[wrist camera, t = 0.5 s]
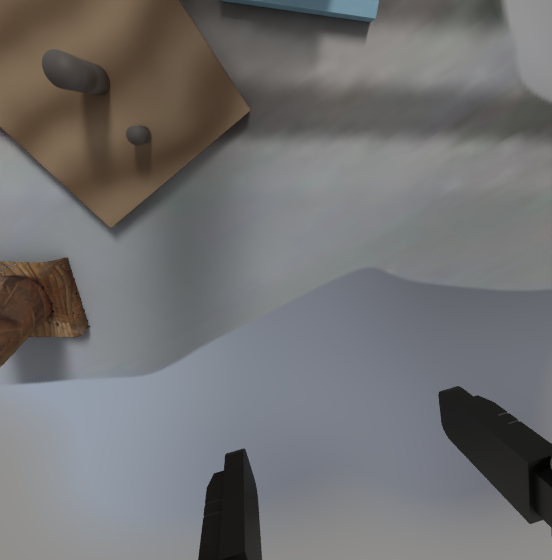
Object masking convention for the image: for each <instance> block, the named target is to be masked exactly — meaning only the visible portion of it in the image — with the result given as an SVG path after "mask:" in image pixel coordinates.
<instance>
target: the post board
mask: <svg viewBox="0 0 552 560" xmlns="http://www.w3.org/2000/svg"><path fill="white" fill-rule="evenodd" d="M249 111H250V108H249V107H248V105H247V104H246V102H245V101H244V99H243V98H242V96H241V95H240V93H239V92H238V90H237V89H236V87H235V85H234V84H233V82H232V81H231V79H230V78H229V76H228V75H227V73H226V72H225V70H224V69H223V67H222V65H221V64H220V62H219V61H218V59H217V58H216V56H215V55H214V53H213V52H212V50H211V49H210V47H209V45H208V44H207V42H206V41H205V39H204V38H203V36H202V35H201V33H200V32H199V30H198V29H197V27H196V26H195V24H194V22H193V21H192V19H191V18H190V16H189V15H188V13H187V12H186V10H185V9H184V7H183V6H182V4H181V2H180V1H179V0H0V127H1V128H2V129H3V130H4V131H5V132H7V133H8V134H9V135H10V136H11V137H12V138H13V139H14V140H15V141H16V142H17V143H19V144H20V145H21V146H22V147H23V148H24V149H25V150H26V151H27V152H28V153H29V154H31V155H32V156H33V157H34V158H35V159H36V160H37V161H38V162H39V163H40V164H41V165H42V166H44V167H45V168H46V169H47V170H48V171H49V172H50V173H51V174H52V175H53V176H54V177H56V178H57V179H58V180H59V181H60V182H61V183H62V184H63V185H64V186H65V187H66V188H68V189H69V190H70V191H71V192H72V193H73V194H74V195H75V196H76V197H77V198H78V199H80V200H81V201H82V202H83V203H84V204H85V205H86V206H87V207H88V208H89V209H90V210H91V211H93V212H94V213H95V214H96V215H97V216H98V217H99V218H100V219H101V220H102V221H103V222H105V223H106V224H107V225H108V226H109V227H110V228H112V227H113V226H114V225H115V224H116V223H118V222H119V221H120V220H121V219H122V218H124V217H125V216H126V215H127V214H128V213H129V212H131V211H132V210H133V209H134V208H135V207H137V206H138V205H139V204H140V203H141V202H142V201H144V200H145V199H146V198H147V197H148V196H150V195H151V194H152V193H153V192H154V191H156V190H157V189H158V188H159V187H160V186H161V185H163V184H164V183H165V182H166V181H167V180H169V179H170V178H171V177H172V176H173V175H174V174H176V173H177V172H178V171H179V170H180V169H182V168H183V167H184V166H185V165H186V164H188V163H189V162H190V161H191V160H192V159H193V158H195V157H196V156H197V155H198V154H199V153H201V152H202V151H203V150H204V149H205V148H206V147H208V146H209V145H210V144H211V143H212V142H214V141H215V140H216V139H217V138H218V137H220V136H221V135H222V134H223V133H224V132H225V131H227V130H228V129H229V128H230V127H231V126H233V125H234V124H235V123H236V122H237V121H239V120H240V119H241V118H242V117H243V116H244V115H246V114H247V113H248V112H249Z"/></svg>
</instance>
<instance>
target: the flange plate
mask: <svg viewBox="0 0 552 560" xmlns="http://www.w3.org/2000/svg"><path fill="white" fill-rule="evenodd" d="M222 1H225V2H232V3H239V4H246V5H253V6H260V7H267V8H274V9H281V10H288V11H295V12H302V13H309V14H316V15H323V16H330V17H337V18H344V19H351V20H358V21H365V22H372V21H373V20H374V19H376V14H377V8H378V3H379V0H222Z"/></svg>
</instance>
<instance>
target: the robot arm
mask: <svg viewBox="0 0 552 560" xmlns="http://www.w3.org/2000/svg"><path fill="white" fill-rule="evenodd" d="M439 405H440V413H441V422H442V426H443V429H444V431H445V433H446V435H447V436H448V438H449V439H450V440H451V441H452V442H453V444H454V445H455V446H456V447H457V448H458V449H459V450H460V451H461V452H462V453H463V454H464V455H465V456H466V457H467V458H468V459H469V460H470V461H471V463H472V464H473V465H474V466H475V467H476V468H477V469H478V470H479V471H480V472H481V473H482V474H483V475H484V476H485V477H486V478H487V479H488V480H489V482H490V483H491V484H492V485H493V486H494V487H495V488H496V489H497V490H498V491H499V492H500V493H501V494H502V495H503V496H504V497H505V498H506V499H507V500H508V501H509V503H510V504H511V505H512V506H513V507H514V508H515V509H516V510H517V511H518V512H519V513H520V514H521V515H522V516H523V517H524V518H525V519H526V520H527V522H528V523H529V524H532V523H534V522H538V521H541V520H544V521H545V522H546V523H547V524H548V525H549V526H550V527H551V535H552V444H551V443H549V442H548V441H547V440H545V439H544V438H543V437H541V436H540V435H538V434H537V433H536V432H534V431H533V430H532V429H530V428H529V427H527V426H526V425H525V424H523V423H522V422H519V421H518V419H516V418H515V417H514V416H512V415H511V414H508V413H507V411H505V410H504V409H503V408H501V407H500V406H498V405H497V404H496V403H494V402H492V401H490V400H487V399H485V398H483V397H480V396H474V397H473V396H472V395H470V394H469V393H468V392H467V391H465V390H464V389H463V388H461V387H459V386H457V387H453V388H450V389H447V390H443V391H440V392H439ZM259 523H260V522H259V507H258V494H257V488H256V483H255V479H254V476H253V473H252V469H251V466H250V463H249V459H248V456H247V453H246V450H245V449H241V450H237V451H234V452H231V453H227V454H226V455H225V465H224V471H221V472H218V473H214V475H213V477H212V479H211V481H210V483H209V485H208V487H207V492H206V500H205V508H204V518H203V525H202V534H201V542H200V550H199V559H198V560H262V554H261V553H262V552H261V537H260V524H259Z"/></svg>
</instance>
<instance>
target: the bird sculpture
mask: <svg viewBox="0 0 552 560" xmlns="http://www.w3.org/2000/svg"><path fill="white" fill-rule="evenodd" d="M5 263H6V264H7V265H8V266H10V267H13V268H14V269H11V268H8V266H6V265H5ZM68 263H69V262H68V258H62V259H60V260H54V261H48V262H43V263H36V262H34V263H28V262H24V263H22V262H8V263H7V262H0V269H3V270H4V271H3V272H1V271H0V273H1V274H0V367H1V366H2V365H3V364H4V363H5V362H6V361H7V360H8V359H9V358H10V357H11V356H12V355H13V354H14V353H15V352H16V350H17V349H18V348H19V347H20V345H21V344H22V343H23V342H24V341H25V340H26V339H27V338H28V337H34V336H35V337H51V335H52V336H53V337H78V336H81V335H83V334H84V333H86V330H87V328H88V327H90V326H87V321H88V320H86V318H85V316H86V314H84V312H85V310H84V309H83V308H82V305H81V303H82V302H81V301H80V300H81V298H80V297H79V292H78V290H77V286H75V285H76V284H75V279H74V278H73V275H72V272H71V271H72V270H71V269H70V265H67V264H68ZM14 264H16V265H17V266H15V265H14ZM2 265H3V266H5V267H6V268H5V269H4V267H2ZM11 265H14V266H11ZM68 267H69V268H68ZM11 270H12V271H11ZM4 272H6V274H3V273H4ZM4 275H6V276H4ZM35 280H37V281H38V283H39V284H37V282H35ZM42 286H44V289H45V290H44V289H43V287H42ZM48 287H49V288H48ZM76 292H78V293H77V294H76ZM78 297H79V298H80V299H79V298H78ZM51 302H52V303H53V304H52V305H53V306H52V305H51ZM51 310H53V311H54V312H53V313H52V312H51ZM49 315H50V317H49ZM51 316H52V317H51ZM47 321H48V322H47ZM49 321H50V322H52V324H50V322H49ZM57 324H58V325H57ZM60 327H61V328H60ZM63 328H64V329H63ZM60 332H62V333H60ZM58 334H59V335H58ZM60 335H62V336H60Z"/></svg>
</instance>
